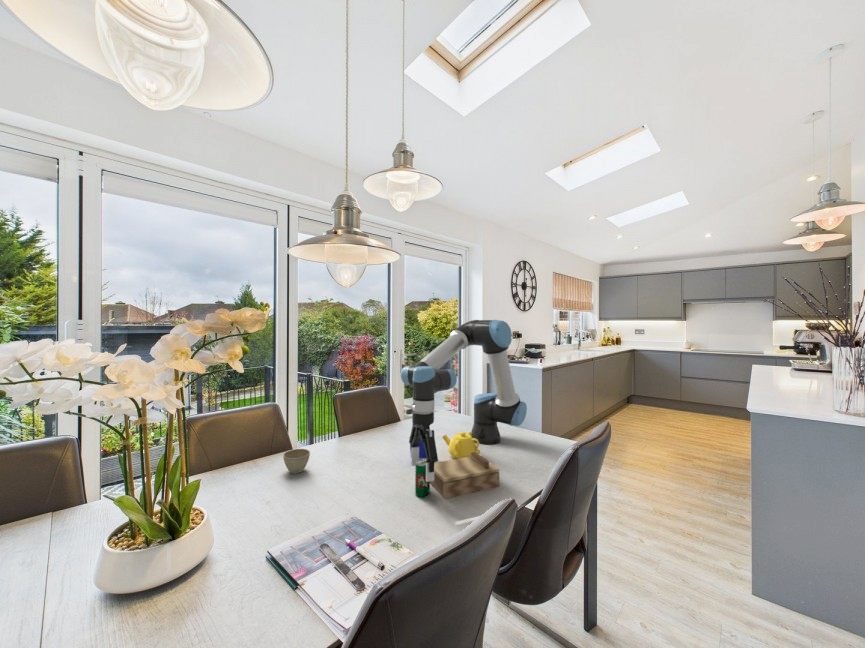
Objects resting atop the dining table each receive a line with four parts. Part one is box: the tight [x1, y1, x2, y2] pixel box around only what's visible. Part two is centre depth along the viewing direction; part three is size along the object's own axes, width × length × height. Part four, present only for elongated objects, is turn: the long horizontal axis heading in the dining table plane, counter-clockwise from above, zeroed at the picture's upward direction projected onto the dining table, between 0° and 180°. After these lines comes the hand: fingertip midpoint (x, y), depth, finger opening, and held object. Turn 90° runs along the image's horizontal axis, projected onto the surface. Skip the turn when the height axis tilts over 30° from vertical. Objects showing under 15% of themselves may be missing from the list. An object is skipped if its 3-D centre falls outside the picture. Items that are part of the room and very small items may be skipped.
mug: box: [409, 439, 427, 459], centre depth 152 cm, size 8×12×10 cm
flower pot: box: [282, 448, 311, 475], centre depth 141 cm, size 10×10×7 cm
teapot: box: [442, 431, 481, 460], centre depth 157 cm, size 14×14×11 cm
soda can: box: [414, 458, 431, 499], centre depth 123 cm, size 5×5×12 cm
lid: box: [434, 452, 500, 483], centre depth 129 cm, size 22×14×3 cm, turn 114°
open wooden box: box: [430, 471, 500, 500], centre depth 129 cm, size 22×14×6 cm, turn 114°
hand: (422, 472), depth 122 cm, fingers open, 13 cm apart
